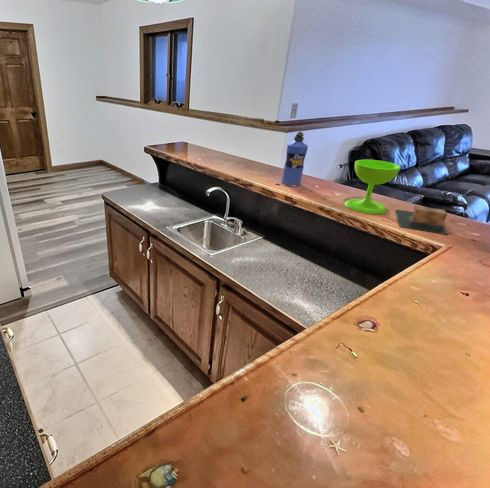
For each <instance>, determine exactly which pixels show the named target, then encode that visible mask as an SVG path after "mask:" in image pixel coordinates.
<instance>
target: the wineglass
mask: <svg viewBox="0 0 490 488" xmlns="http://www.w3.org/2000/svg"><path fill="white" fill-rule="evenodd" d="M401 168H402V167H401V166H400V165H399V164H398V163H397V164H396V163H394V162H389V161H385V160H377V159H358V160H355V161H354V172H355V174H356V176H357V178H358V179H359V180H360V181H361V182H363V183H365V184H367V185H368V186H367V190H366V193H365V197H364V198H351V199H348V200H346V201H345V202H344V204H345V205H344V204H343V205H344V206H345V208H347V207H348V208H347V209H349V210H351V211H354V212H358V213H362V214H369V215H383V214H386V213H387V211H388V210H387V207H386V206H385V205H383V204H382V203H380V202H377V201H374V200H371V197H372V194H373V190H374V187H375V186H377V185H378V186H379V185H383V184H386V183H388V182H390V181H392V180H393V179H395V177H396V176H397V175H398V174H399V173H400V170H401Z"/></svg>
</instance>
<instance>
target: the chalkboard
mask: <svg viewBox="0 0 490 488" xmlns="http://www.w3.org/2000/svg"><path fill="white" fill-rule="evenodd" d="M412 213H413V211H409V210H402V209H395V215H396V219H397V223H398V226H399V228H401V229H408V230H413V231H417V232H419V231H420V232H425V233H432V234H437V235H442V236H443V235H444V236H449V234H448V232H447V230H446V228H445V227H444V229H443V230H437V229H430V228H424V227H418V226H412V225H410V224H409V221H408V219H409V217H411V216H412Z"/></svg>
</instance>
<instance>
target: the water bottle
mask: <svg viewBox="0 0 490 488" xmlns="http://www.w3.org/2000/svg"><path fill="white" fill-rule="evenodd" d="M294 135H295V136H294V138H293V141H292V142H289V143H288V144H287V145H286V157H285V158H286V159H285V163H284V166H283V170H282V177H281V182H282V183H283V184H286V185H300V186H301V183H302V177H303V172H304V163H305V158H306V155H307V153H308V149H309V145H308V144H306V143H304V138H305V137H304V135H305V134H304V132H303V131H297V132H296V133H295V134H294ZM282 183H281V184H282ZM283 184H282V185H283ZM286 185H285V186H286Z"/></svg>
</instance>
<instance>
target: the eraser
mask: <svg viewBox="0 0 490 488" xmlns="http://www.w3.org/2000/svg"><path fill="white" fill-rule="evenodd" d="M412 212H413V213H412V216H411V217H409V219H408V221H409V224H410V225H412V226H418V227H424V228H430V229H437V230H443V229H444V228H445V225H444V223H445V220H446V218H447V216H448V213H447V211H446V210H445V209H441V208H433V207H427V206H421V205H420V206H419V205H414V207H413V211H412Z"/></svg>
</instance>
